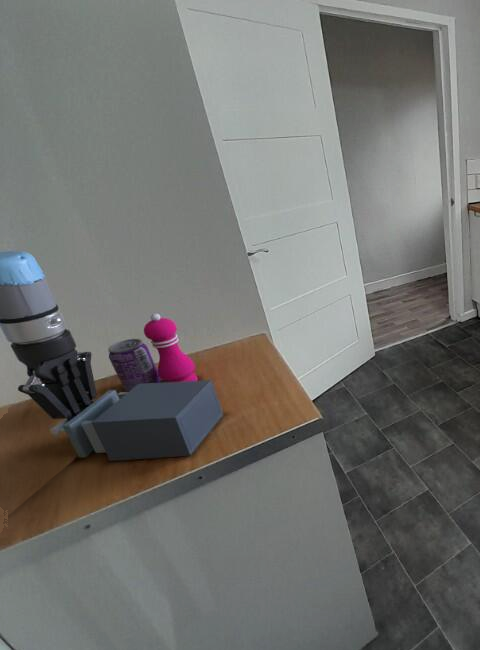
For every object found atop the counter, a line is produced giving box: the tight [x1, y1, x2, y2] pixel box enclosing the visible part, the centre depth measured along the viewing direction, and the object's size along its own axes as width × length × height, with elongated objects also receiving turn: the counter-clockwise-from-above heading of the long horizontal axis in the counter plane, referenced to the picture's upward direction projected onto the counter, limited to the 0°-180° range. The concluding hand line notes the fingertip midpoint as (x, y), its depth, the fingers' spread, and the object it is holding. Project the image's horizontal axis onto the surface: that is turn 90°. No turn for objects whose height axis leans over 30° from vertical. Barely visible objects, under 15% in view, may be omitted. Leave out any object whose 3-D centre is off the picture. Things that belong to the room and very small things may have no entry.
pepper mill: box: [143, 313, 198, 382], centre depth 100 cm, size 7×7×20 cm
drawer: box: [49, 389, 128, 458], centre depth 84 cm, size 18×11×8 cm, turn 97°
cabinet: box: [91, 379, 224, 462], centre depth 85 cm, size 15×13×10 cm
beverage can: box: [108, 338, 162, 392], centre depth 100 cm, size 7×7×12 cm
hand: (90, 435), depth 84 cm, fingers closed
